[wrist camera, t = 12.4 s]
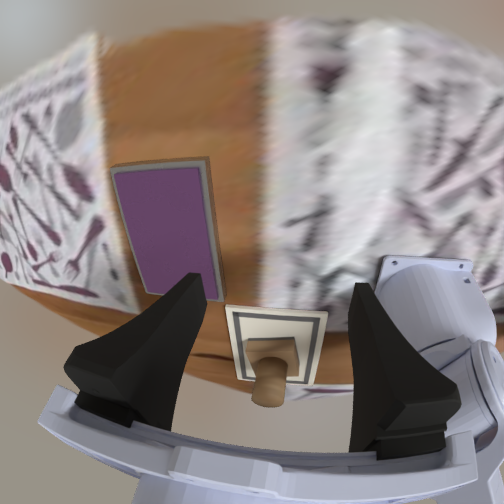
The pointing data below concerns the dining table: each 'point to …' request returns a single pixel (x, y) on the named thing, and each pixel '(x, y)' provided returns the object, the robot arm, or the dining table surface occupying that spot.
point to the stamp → (272, 368)
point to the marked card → (277, 325)
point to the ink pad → (171, 222)
